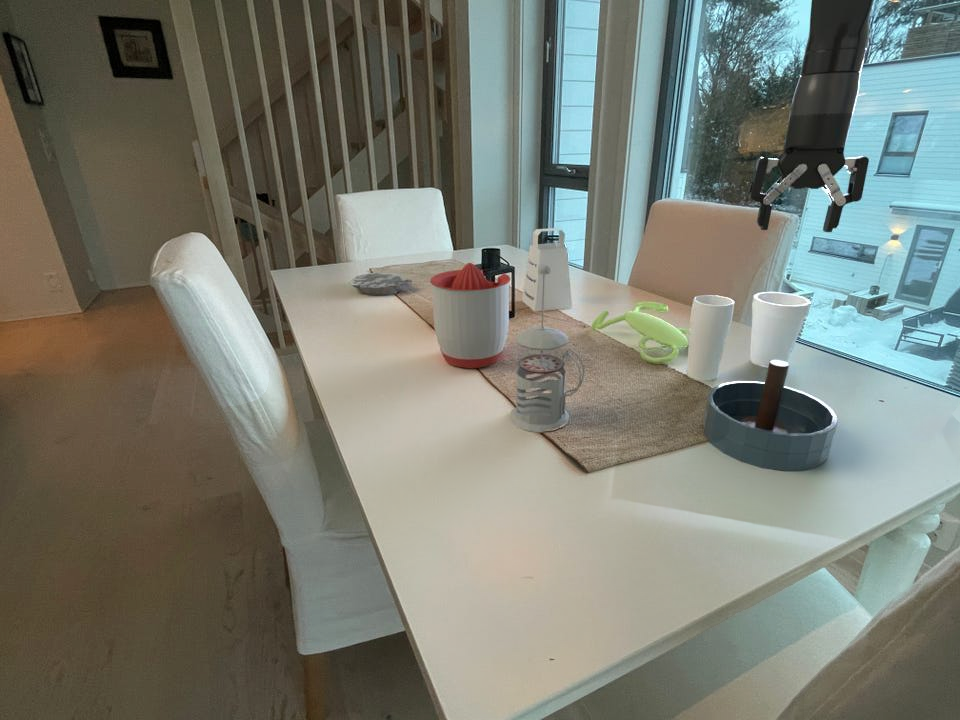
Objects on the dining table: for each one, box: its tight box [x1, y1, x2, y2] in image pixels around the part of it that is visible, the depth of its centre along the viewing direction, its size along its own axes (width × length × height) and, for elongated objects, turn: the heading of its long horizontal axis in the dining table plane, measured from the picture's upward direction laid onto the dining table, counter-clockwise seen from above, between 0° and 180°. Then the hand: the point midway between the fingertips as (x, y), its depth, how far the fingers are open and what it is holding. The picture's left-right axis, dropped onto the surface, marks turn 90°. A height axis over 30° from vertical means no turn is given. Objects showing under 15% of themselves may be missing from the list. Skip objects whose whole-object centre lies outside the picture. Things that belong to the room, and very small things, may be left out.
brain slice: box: [349, 271, 413, 296], centre depth 156 cm, size 20×17×3 cm
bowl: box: [702, 380, 838, 472], centre depth 74 cm, size 16×16×6 cm
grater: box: [521, 227, 573, 313], centre depth 136 cm, size 10×10×20 cm
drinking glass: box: [685, 294, 735, 382], centre depth 93 cm, size 7×7×15 cm
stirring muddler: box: [742, 360, 790, 433], centre depth 73 cm, size 6×6×12 cm
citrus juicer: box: [429, 262, 511, 370], centre depth 103 cm, size 16×17×20 cm
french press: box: [509, 265, 586, 434], centre depth 78 cm, size 10×12×25 cm
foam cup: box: [749, 291, 812, 369], centre depth 99 cm, size 10×9×13 cm
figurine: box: [590, 301, 689, 365], centre depth 113 cm, size 18×27×6 cm
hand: (795, 230), depth 78 cm, fingers open, 8 cm apart
